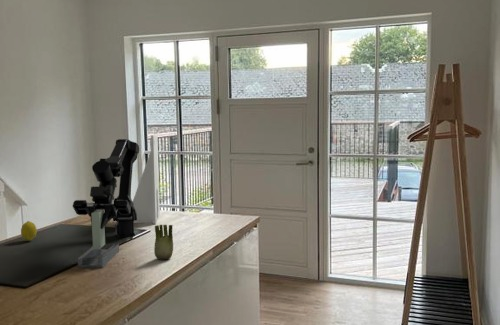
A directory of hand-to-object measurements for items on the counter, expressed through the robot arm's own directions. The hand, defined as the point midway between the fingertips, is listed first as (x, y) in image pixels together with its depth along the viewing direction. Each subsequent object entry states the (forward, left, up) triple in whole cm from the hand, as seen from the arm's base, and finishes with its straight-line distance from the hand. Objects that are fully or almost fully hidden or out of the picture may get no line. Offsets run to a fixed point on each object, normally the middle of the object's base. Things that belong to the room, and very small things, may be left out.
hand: (97, 228), depth 155 cm
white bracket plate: (-31, -53, -11) cm, 62 cm away
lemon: (+18, -39, -11) cm, 45 cm away
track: (-1, -1, -11) cm, 11 cm away
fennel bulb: (-20, +10, -11) cm, 25 cm away
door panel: (-1, -1, -7) cm, 7 cm away
